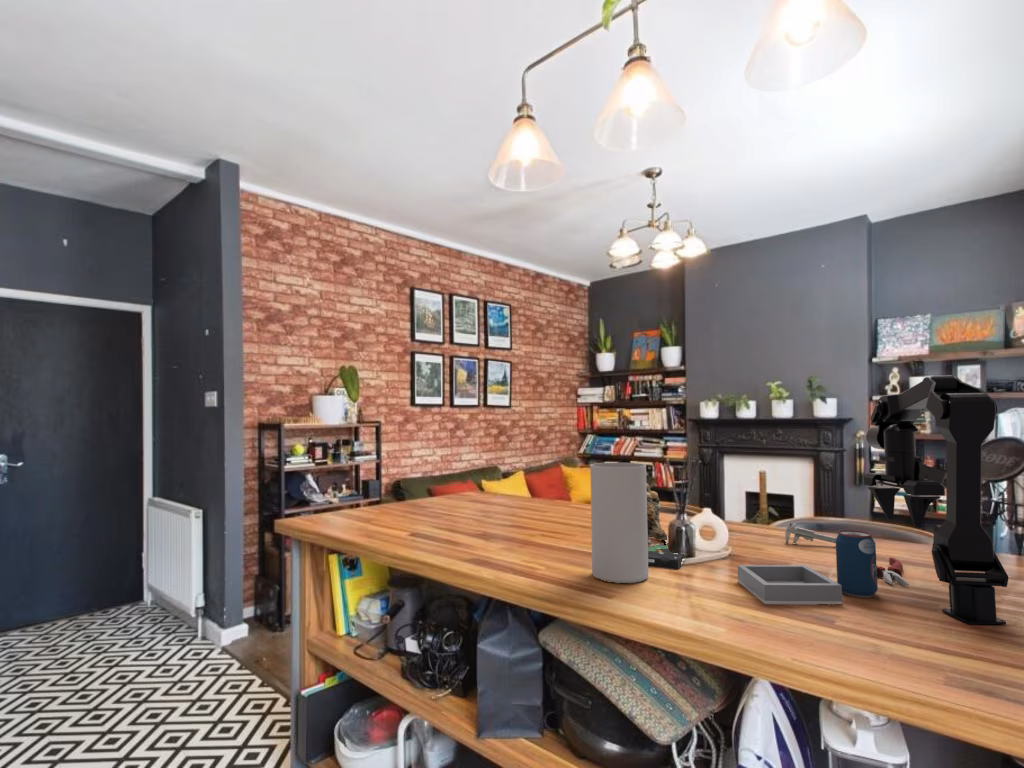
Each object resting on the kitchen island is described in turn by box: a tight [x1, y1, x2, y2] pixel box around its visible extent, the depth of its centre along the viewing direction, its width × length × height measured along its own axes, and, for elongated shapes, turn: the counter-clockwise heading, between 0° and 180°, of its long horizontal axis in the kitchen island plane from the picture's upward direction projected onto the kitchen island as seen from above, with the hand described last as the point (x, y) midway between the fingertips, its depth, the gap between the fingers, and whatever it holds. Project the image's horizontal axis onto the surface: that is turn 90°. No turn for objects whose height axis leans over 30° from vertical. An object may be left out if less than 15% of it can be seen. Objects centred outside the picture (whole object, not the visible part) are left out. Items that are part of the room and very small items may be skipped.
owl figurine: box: [646, 482, 668, 542], centre depth 160 cm, size 18×12×17 cm, turn 157°
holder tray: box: [737, 564, 843, 606], centre depth 113 cm, size 14×14×4 cm
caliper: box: [784, 521, 837, 544], centre depth 153 cm, size 20×1×6 cm, turn 69°
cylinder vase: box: [589, 462, 650, 584], centre depth 126 cm, size 12×12×25 cm
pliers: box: [877, 557, 910, 587], centre depth 125 cm, size 12×20×3 cm, turn 164°
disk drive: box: [648, 544, 684, 570], centre depth 140 cm, size 10×3×15 cm
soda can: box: [835, 529, 879, 598], centre depth 113 cm, size 7×7×12 cm
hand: (903, 523), depth 122 cm, fingers open, 9 cm apart
